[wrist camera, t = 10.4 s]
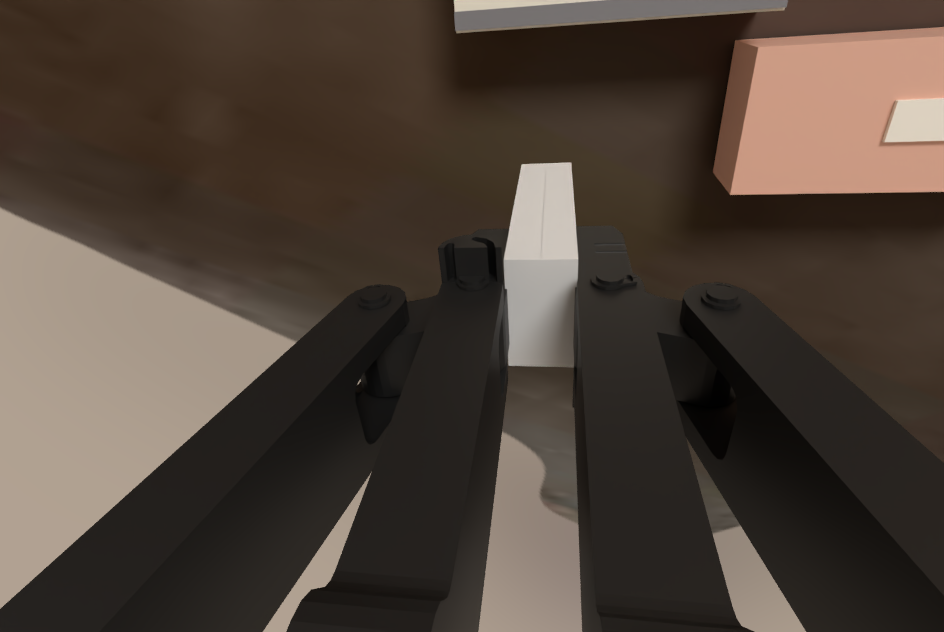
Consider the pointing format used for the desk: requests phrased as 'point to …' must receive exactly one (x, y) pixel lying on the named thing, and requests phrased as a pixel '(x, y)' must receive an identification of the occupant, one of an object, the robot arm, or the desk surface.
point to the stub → (834, 114)
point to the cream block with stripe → (590, 11)
